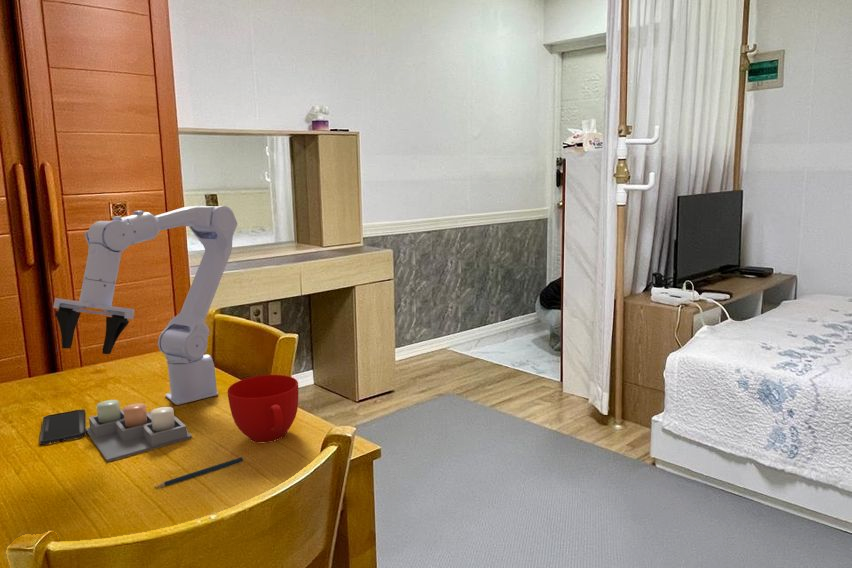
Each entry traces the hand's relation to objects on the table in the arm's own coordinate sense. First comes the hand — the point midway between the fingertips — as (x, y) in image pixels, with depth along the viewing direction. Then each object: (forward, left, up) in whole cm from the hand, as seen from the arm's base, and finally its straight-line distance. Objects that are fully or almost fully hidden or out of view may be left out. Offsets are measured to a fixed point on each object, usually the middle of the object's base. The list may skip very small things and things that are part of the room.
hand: (86, 351), depth 126 cm
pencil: (-9, +31, -17) cm, 37 cm away
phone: (+5, -7, -17) cm, 19 cm away
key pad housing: (-6, +7, -17) cm, 19 cm away
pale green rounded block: (-2, +1, -14) cm, 15 cm away
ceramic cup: (-24, +27, -17) cm, 40 cm away
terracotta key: (-6, +7, -14) cm, 17 cm away
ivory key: (-9, +12, -14) cm, 21 cm away
